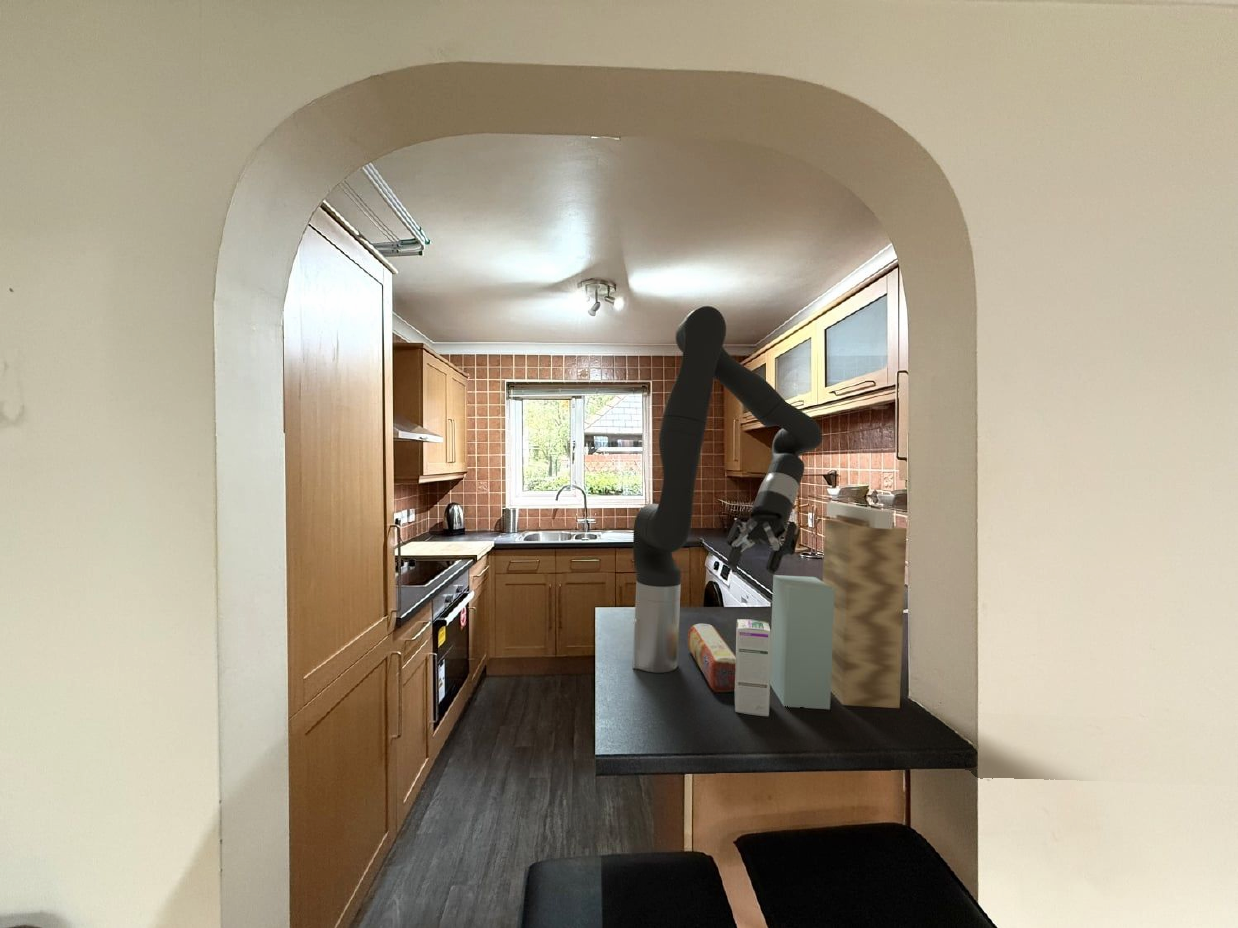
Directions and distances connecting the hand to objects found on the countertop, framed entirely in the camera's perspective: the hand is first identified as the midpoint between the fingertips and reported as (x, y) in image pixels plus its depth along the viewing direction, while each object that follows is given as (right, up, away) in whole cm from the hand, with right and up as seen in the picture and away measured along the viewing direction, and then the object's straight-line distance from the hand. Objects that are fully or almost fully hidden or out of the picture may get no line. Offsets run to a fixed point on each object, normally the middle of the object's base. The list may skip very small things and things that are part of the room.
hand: (750, 568), depth 99 cm
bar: (+21, +9, +2) cm, 23 cm away
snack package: (-6, -22, +7) cm, 24 cm away
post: (+8, -23, -4) cm, 24 cm away
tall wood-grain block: (+20, -23, -1) cm, 31 cm away
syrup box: (-2, -22, -10) cm, 24 cm away
